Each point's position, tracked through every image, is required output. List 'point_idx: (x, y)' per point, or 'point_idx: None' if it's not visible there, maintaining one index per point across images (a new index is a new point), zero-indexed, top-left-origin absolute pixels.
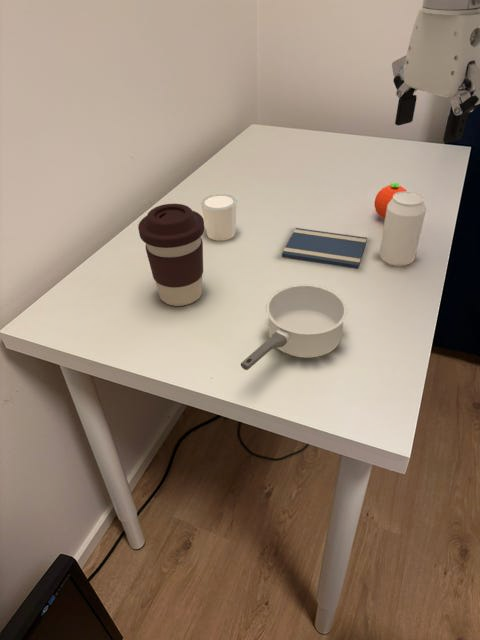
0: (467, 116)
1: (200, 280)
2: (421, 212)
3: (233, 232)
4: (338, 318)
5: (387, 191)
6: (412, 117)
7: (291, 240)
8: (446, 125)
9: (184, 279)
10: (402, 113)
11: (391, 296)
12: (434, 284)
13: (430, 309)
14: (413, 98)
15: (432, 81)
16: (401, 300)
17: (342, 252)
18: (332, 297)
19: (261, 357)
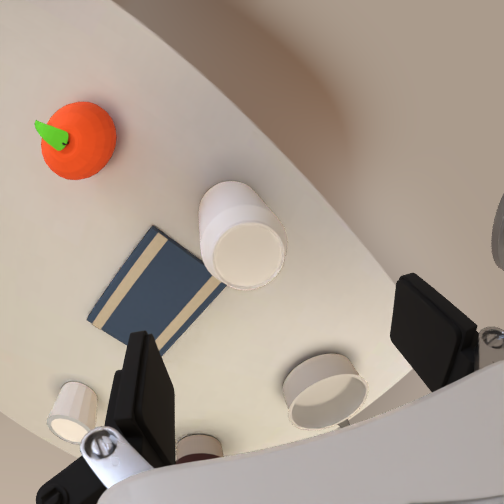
0: (476, 332)
1: (213, 451)
2: (286, 237)
3: (88, 391)
4: (331, 360)
5: (71, 165)
6: (149, 345)
7: (123, 339)
8: (416, 371)
9: None
10: (172, 417)
11: (308, 269)
12: (315, 196)
13: (354, 238)
14: (150, 428)
15: None
16: (322, 262)
17: (183, 289)
18: (324, 376)
19: None
